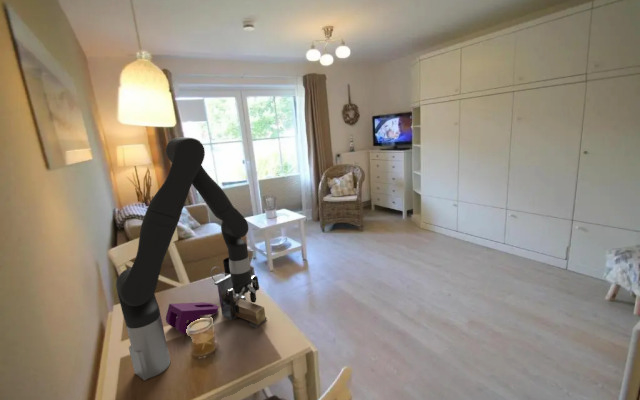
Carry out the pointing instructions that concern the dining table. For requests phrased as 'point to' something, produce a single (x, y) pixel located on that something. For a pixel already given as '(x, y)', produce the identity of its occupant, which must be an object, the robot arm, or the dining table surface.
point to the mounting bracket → (188, 314)
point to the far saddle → (256, 324)
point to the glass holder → (226, 268)
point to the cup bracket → (222, 287)
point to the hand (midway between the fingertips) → (245, 307)
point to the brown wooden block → (250, 312)
